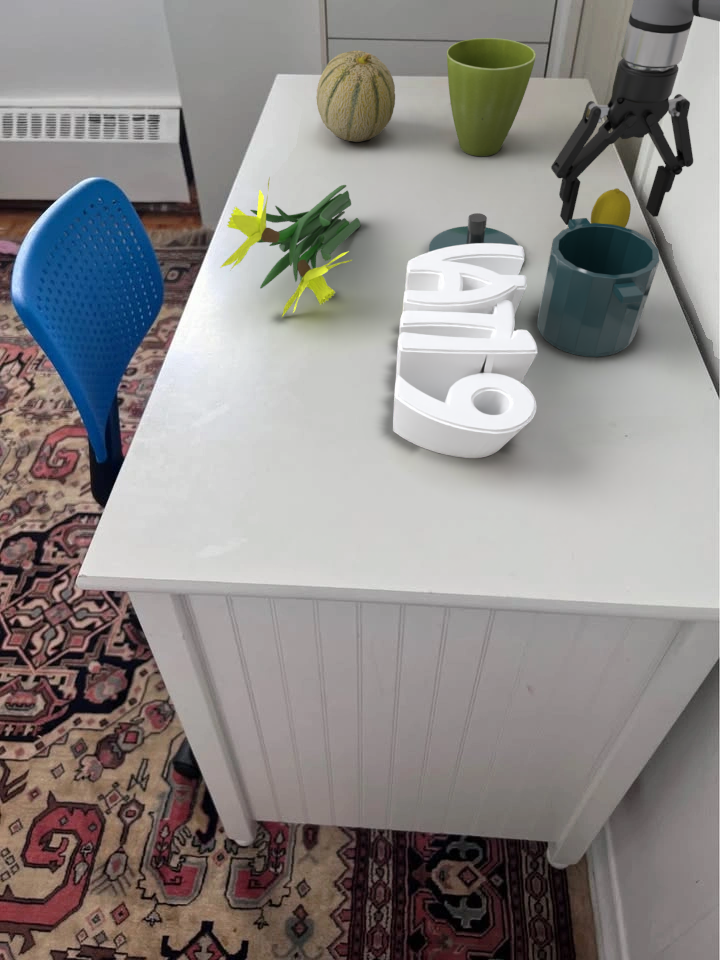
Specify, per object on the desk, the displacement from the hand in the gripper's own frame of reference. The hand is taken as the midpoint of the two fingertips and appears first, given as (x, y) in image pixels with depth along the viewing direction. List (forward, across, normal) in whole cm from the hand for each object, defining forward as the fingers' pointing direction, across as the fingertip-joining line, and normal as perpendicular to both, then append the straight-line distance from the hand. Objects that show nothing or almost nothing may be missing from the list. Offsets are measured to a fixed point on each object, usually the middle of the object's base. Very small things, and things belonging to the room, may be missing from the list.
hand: (608, 216), depth 108 cm
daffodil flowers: (+4, +46, +1) cm, 46 cm away
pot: (+4, +11, +21) cm, 24 cm away
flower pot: (+4, +10, -35) cm, 36 cm away
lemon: (+4, 0, 0) cm, 4 cm away
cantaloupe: (+4, +32, -44) cm, 54 cm away
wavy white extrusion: (+4, +30, +28) cm, 41 cm away
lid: (+3, +21, +1) cm, 21 cm away
